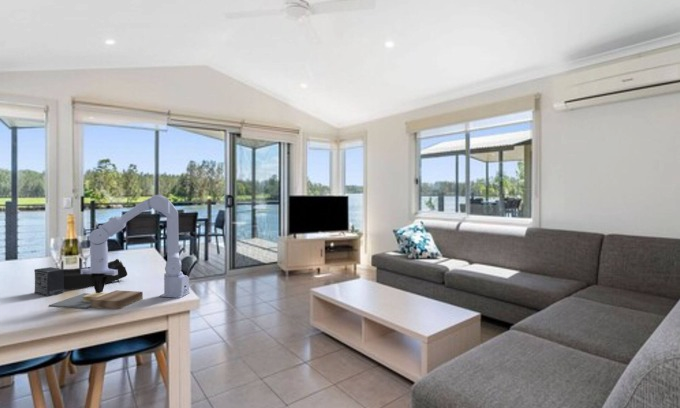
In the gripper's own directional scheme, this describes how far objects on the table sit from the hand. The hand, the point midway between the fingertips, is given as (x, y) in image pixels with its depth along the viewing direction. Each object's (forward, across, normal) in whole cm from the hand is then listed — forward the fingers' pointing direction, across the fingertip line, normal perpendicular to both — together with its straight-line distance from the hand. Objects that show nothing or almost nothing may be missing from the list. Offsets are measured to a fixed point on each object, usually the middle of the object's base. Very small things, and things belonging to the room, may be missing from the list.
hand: (99, 292), depth 139 cm
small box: (+4, +30, -8) cm, 31 cm away
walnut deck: (+4, -8, 0) cm, 9 cm away
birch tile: (+3, +2, -1) cm, 4 cm away
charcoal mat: (+4, +6, 0) cm, 7 cm away
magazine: (+4, +22, -21) cm, 30 cm away
